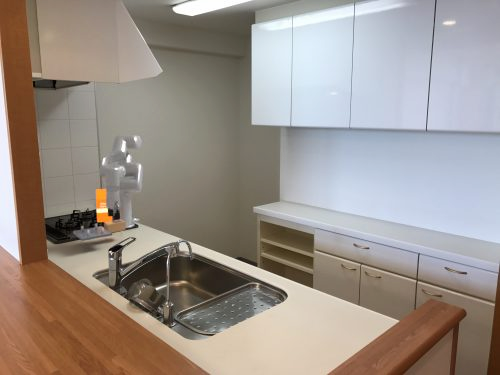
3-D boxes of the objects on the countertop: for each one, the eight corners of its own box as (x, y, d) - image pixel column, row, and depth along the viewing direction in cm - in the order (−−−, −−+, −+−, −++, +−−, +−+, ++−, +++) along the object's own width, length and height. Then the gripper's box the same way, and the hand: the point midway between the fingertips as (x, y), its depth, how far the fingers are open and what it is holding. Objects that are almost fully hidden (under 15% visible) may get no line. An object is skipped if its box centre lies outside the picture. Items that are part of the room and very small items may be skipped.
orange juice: (97, 219, 260) (96, 188, 257) (112, 218, 263) (110, 187, 259) (97, 222, 253) (95, 190, 249) (112, 221, 256) (110, 190, 252)
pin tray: (101, 228, 237) (101, 221, 236) (112, 235, 225) (112, 227, 224) (73, 233, 227) (72, 225, 226) (82, 240, 215) (81, 233, 214)
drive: (121, 227, 243) (120, 219, 242) (125, 230, 239) (124, 221, 238) (104, 230, 237) (103, 222, 236) (108, 233, 233) (107, 224, 232)
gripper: (100, 187, 237) (102, 215, 240) (112, 191, 224) (113, 222, 227) (113, 185, 242) (114, 214, 245) (125, 190, 229) (126, 220, 232)
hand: (114, 217), depth 236 cm, fingers open, 9 cm apart
